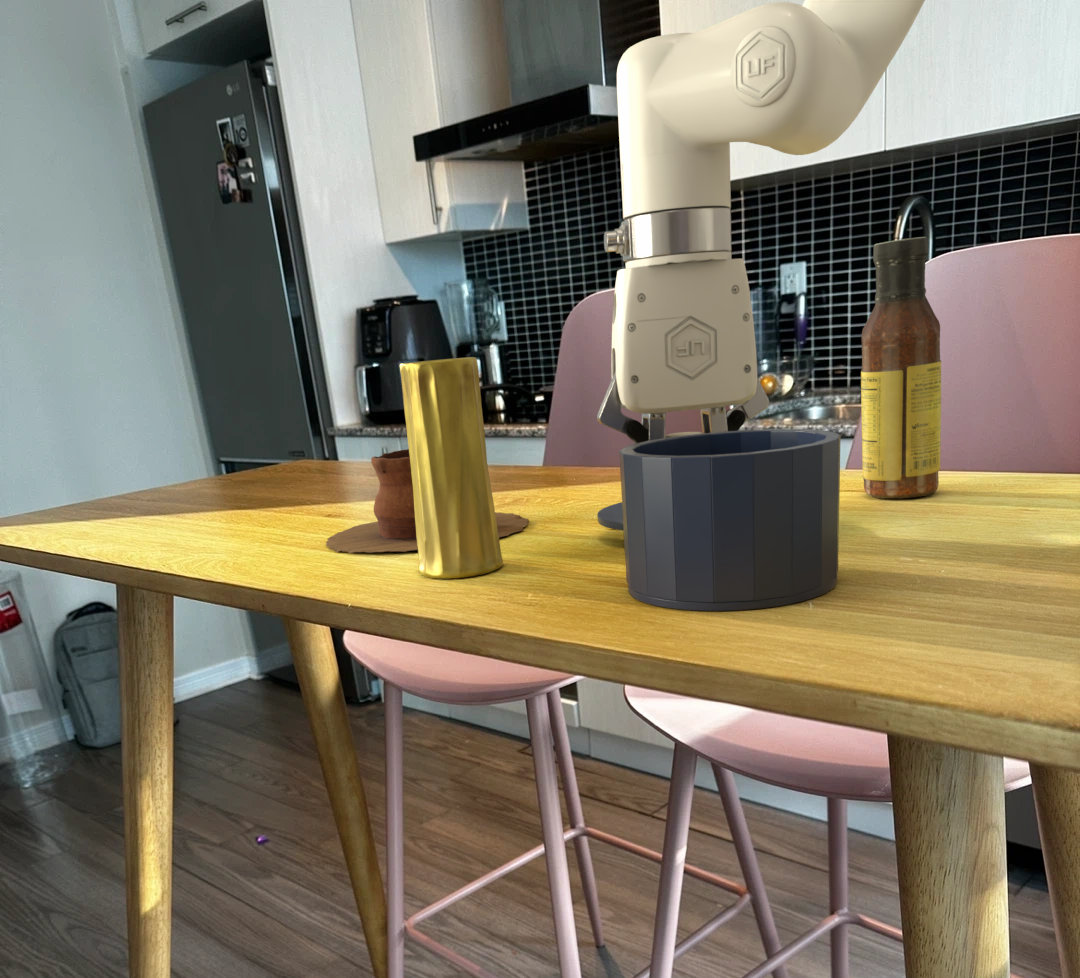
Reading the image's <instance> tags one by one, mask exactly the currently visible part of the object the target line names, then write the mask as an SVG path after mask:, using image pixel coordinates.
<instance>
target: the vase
mask: <svg viewBox="0 0 1080 978" xmlns="http://www.w3.org/2000/svg"><path fill="white" fill-rule="evenodd" d="M399 372H400V378H401V379H400V380H401V389H402V390H401V391H402V399H403V409H404V410H403V411H404V419H405V424H406V425H405V427H406V434H407V435H406V436H407V445H408V449H409V454H410V464H411V474H412V483H413V494H414V510H415V523H416V537H417V546H418V550H417V554H418V555H417V556H418V568H417V569H418V571H417V572H418V573H419V574H420V575H421V576H423V577H426V578H431V579H443V580H445V579H446V580H447V579H451V580H452V579H463V578H469V577H476V576H477V577H478V576H481V575H486V574H489V573H492V572H494V571H497V570H499V569H500V568H501V567H502V566H503V565H504V559H503V555H502V550H501V549H502V548H501V543H500V537H499V535H498V529H497V522H496V515H495V513H496V511H495V510H496V509H495V503H494V502H495V501H494V497H493V496H494V495H493V491H492V483H491V479H490V473H489V466H488V457H487V455H488V454H487V445H486V433H485V427H484V426H485V424H484V416H483V407H482V395H481V385H480V374H479V363H478V359H477V358H476V357H474V356H469V357H468V356H467V357H458V358H443V359H434V360H433V359H432V360H423V361H412V362H404V363H399Z"/></svg>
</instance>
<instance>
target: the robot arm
mask: <svg viewBox="0 0 1080 978" xmlns="http://www.w3.org/2000/svg"><path fill="white" fill-rule="evenodd" d="M925 1H926V0H804V1H803V3H802V5H801V4H798V3H796V2H795V3H793V2H790V1H776V2H769V3H765V4H762V5H758V6H755V7H753V8H751V9H747V10H745V11H743V12H740V13H738V14H736V15H733V16H731V17H729V18H727V19H725V20H722V21H720V22H717V23H715V24H713V25H710V26H707V27H705V28H703V29H700V30H698V31H695V32H678V33H670V34H663V35H657V36H654V37H650V38H647V39H644V40H641V41H639V42H637V43H635V44H633V45H632V46H629V48H627V49H626V50H625V51H624V52H623V54H622V56H621V57H620V59H619V61H618V64H617V69H616V99H617V100H616V101H617V118H618V119H617V120H618V121H617V122H618V137H619V139H618V141H619V159H620V160H619V161H620V182H621V199H622V219H623V221H621V224H620V226H619V227H618V228H614V230H613V231H604V233H603V234H604V235H603V246H604V247H603V248H604V251H605V253H612V252H613V253H614V252H615V254H620V257H622V261H623V262H624V263H625V268H621V269H618V270H617V271H616V277H615V285H614V294H613V304H612V305H613V306H612V323H611V380H610V383H609V385H608V387H607V389H606V393H605V394H604V397H603V399H602V401H601V403H600V404H601V405H600V407H599V410H598V411H597V415H596V420H597V422H598V423H599V424H601V425H603V426H605V427H608V428H610V429H612V430H615V431H617V432H619V433H622V434H624V435H625V436H626V437H628V438H629V439H630V440H631V441H632V442H633V443H634V444H637V443H641V442H645V441H650V440H656V439H662V438H665V436H666V421H667V420H666V418H667V417H666V416H667V413H671V412H673V413H674V412H683V411H693V410H694V411H695V410H699V411H700V412H699V413H700V422H701V431H702V433H713V432H727V431H740V430H739V429H741V427H742V426H743V425H744V424H745V423H746V422H747V421H748V420H749V421H750V420H751V419H753V418H754V417H756V416H757V415H759V414H760V413H763V411H765V410H766V409H768V407H769V406H770V399H769V397H768V395H767V393H766V391H765V389H764V387H763V385H762V383H761V381H760V379H759V377H758V361H757V358H758V357H757V346H756V345H757V344H756V335H755V334H756V333H755V323H754V315H753V313H754V312H753V306H752V298H751V290H750V285H749V279H748V274H747V268H746V265H745V264H746V263H745V260H744V258H732V210H731V208H732V202H731V200H732V196H731V192H732V191H731V190H732V189H731V143H749V144H754V145H759V146H763V147H769V148H771V149H773V150H775V151H777V152H780V153H782V154H783V153H784V154H787V155H793V156H804V155H811V154H814V153H817V152H819V151H821V150H823V149H826V148H827V147H829V146H830V145H831V144H833V143H834V142H836V141H837V140H838V139H839V138H840V137H841V136H842V135H843V134H844V133H845V132H846V131H847V130H848V129H849V128H850V127H851V125H852V124H853V123H854V122H855V120H856V119H857V117H858V116H859V114H860V113H861V111H862V110H863V108H864V106H865V105H866V103H867V102H868V100H869V98H870V97H871V96H872V94H873V92H874V90H875V89H876V87H877V85H878V84H879V82H880V81H881V79H882V77H883V75H884V74H885V72H886V70H887V69H888V67H889V65H890V64H891V62H892V60H893V59H894V57H895V55H896V54H897V53H898V51H899V49H900V48H901V46H902V44H903V42H904V41H905V39H906V37H907V35H908V33H909V32H910V30H911V29H912V26H913V24H914V22H915V20H916V19H917V17H918V15H919V13H920V11H921V10H922V7H923V5H924V3H925ZM733 406H734V407H733ZM726 407H732V408H730V409H726ZM622 409H624V410H627V411H631V412H634V413H638V414H641V422H640V421H639V420H637V419H634V418H632V417H629V416H627V415H625V414H624V413H623V412H622Z"/></svg>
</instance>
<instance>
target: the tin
mask: <svg viewBox="0 0 1080 978" xmlns="http://www.w3.org/2000/svg"><path fill="white" fill-rule="evenodd" d="M618 453H619V454H618V455H619V457H618V458H619V471H620V489H621V490H620V491H621V502H622V510H623V528H624V531H623V544H624V563H625V578H626V583H627V589H628V590H627V591H628V593H629V595H630V596H631V597H632V598H633V599H635V600H637V601H639V602H642V603H645V604H647V605H651V606H655V607H660V608H666V609H673V610H674V609H675V610H684V611H699V612H731V611H748V610H749V611H751V610H760V609H768V608H776V607H782V606H786V605H792V604H797V603H801V602H805V601H808V600H811V599H812V600H813V599H815V598H817V597H821V596H823V595H825V594H828V593H829V592H830V591H832V590H833V589H834V588H835V587H836V585H837V584H838V572H839V551H840V549H839V547H840V545H839V544H840V540H839V539H840V495H841V493H840V492H841V491H840V489H841V488H840V486H841V483H840V482H841V434H840V433H837V432H833V431H829V430H823V429H821V430H820V429H808V428H804V429H803V428H800V429H799V428H768V429H767V428H766V429H765V428H764V429H743V430H738V431H727V432H713V433H703V432H702V434H693V435H684V436H676V437H669V438H662V439H656V440H650V441H645V442H641V443H637V444H636V443H632V444H629V445H626V446H625V447H623V448H621V449H620V450H619V451H618Z"/></svg>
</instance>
